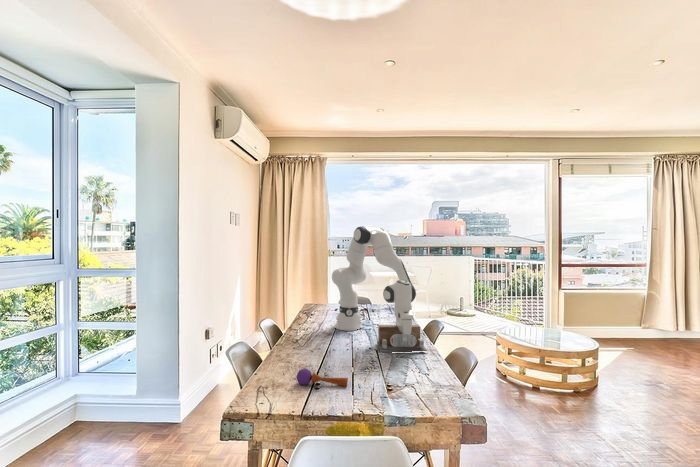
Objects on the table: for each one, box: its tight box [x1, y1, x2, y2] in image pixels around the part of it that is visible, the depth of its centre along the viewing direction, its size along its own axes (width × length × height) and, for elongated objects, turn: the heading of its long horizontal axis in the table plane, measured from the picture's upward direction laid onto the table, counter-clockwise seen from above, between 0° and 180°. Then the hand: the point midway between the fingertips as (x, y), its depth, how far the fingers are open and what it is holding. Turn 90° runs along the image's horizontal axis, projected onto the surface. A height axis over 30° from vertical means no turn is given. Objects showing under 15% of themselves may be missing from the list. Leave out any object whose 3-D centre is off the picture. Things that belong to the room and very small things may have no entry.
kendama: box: [296, 368, 349, 388], centre depth 136 cm, size 6×6×20 cm
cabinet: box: [376, 324, 428, 354], centre depth 182 cm, size 16×23×10 cm
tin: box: [388, 331, 418, 347], centre depth 178 cm, size 15×3×8 cm, turn 89°
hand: (402, 339), depth 179 cm, fingers open, 4 cm apart
